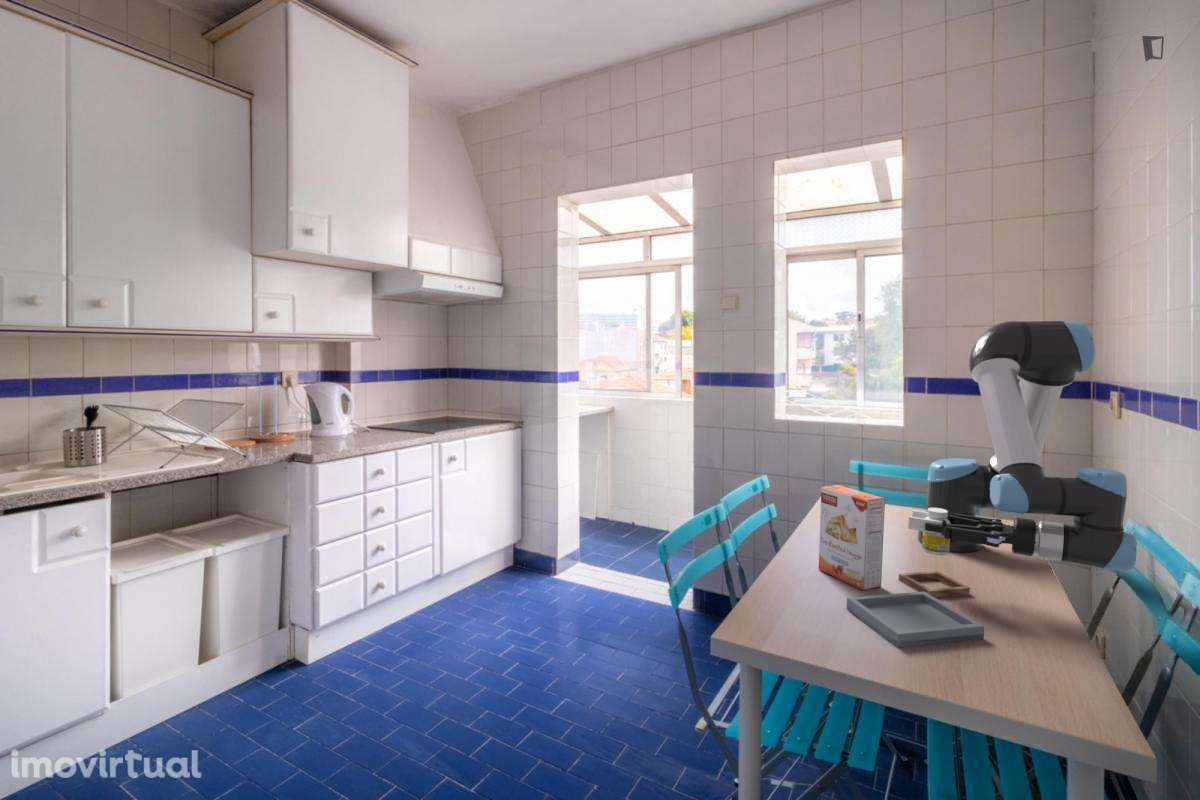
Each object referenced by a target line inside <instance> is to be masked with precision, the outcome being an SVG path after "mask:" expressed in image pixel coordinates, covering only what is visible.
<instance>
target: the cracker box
mask: <svg viewBox="0 0 1200 800" xmlns="http://www.w3.org/2000/svg"><path fill="white" fill-rule="evenodd" d="M820 488H821V489H820V513H819V514H820V515H819V518H820V519H819V545H818V547H819V548H818V570H819V571H822V572H823V573H826V574H828V575H829V576H833V577H834V578H837V579H838V580H840V581H842V582H845V583H847V584H848V585H851V586H853V587H855V588H857V589H859V590H861V591H867V590H868V591H869V590H871V589H876V588H880V587H882V578H883V577H882V574H883V573H882V572H883V554H884V553H883V551H884V531H885V529H884V527H885V511H886V510H885V509H886V508H885V506H886V499H885V498H884V497H881V496H877V495H874V494H870V493H867V492H864V491H860V490H858V489H854V488H851V487H847V486H844V485H840V484H836V485H835V484H834V485H825V486H821V487H820Z"/></svg>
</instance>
